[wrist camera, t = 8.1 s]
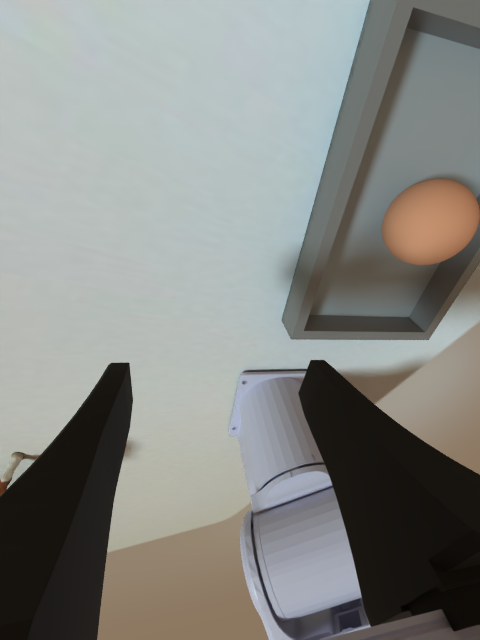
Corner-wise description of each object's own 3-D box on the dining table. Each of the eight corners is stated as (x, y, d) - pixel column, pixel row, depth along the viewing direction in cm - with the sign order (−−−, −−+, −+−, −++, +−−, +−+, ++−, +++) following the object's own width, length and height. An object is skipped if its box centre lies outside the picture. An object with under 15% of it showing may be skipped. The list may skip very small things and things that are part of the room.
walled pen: (409, 322, 27) (428, 339, 25) (281, 320, 24) (291, 339, 22) (566, 55, 16) (621, 47, 14) (371, -6, 13) (406, -28, 11)
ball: (412, 250, 22) (469, 279, 18) (355, 246, 20) (402, 277, 16) (447, 177, 19) (524, 193, 15) (384, 167, 18) (449, 181, 14)
